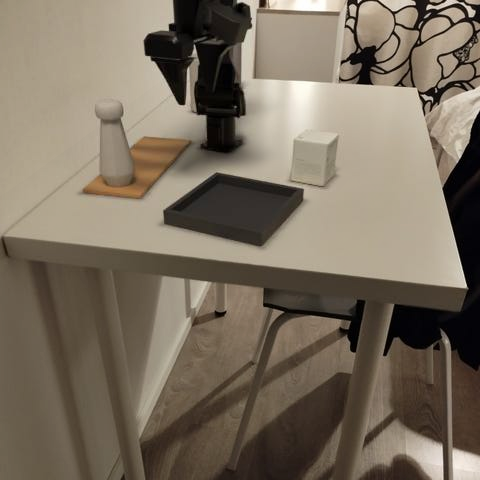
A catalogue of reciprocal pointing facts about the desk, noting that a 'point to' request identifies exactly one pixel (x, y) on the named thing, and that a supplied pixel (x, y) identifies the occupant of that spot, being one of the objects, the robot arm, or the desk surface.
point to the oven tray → (235, 208)
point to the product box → (314, 157)
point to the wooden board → (143, 166)
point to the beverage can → (193, 79)
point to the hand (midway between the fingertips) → (196, 98)
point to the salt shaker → (114, 144)
